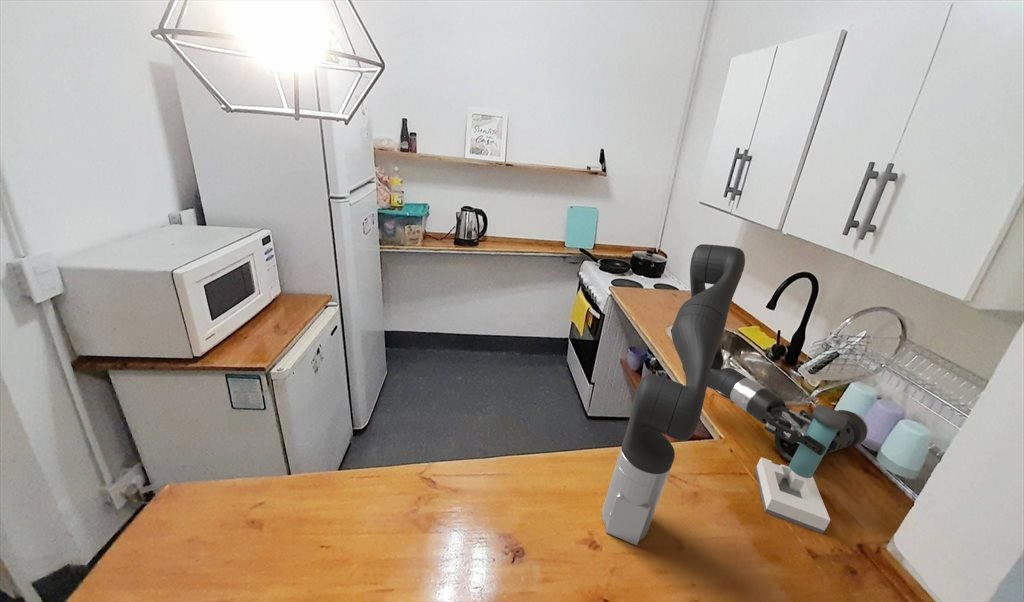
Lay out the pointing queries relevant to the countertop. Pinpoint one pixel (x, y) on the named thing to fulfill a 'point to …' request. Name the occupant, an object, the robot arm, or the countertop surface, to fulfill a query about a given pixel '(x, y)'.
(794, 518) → the keyhole plate
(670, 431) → the robot arm
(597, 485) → the countertop surface
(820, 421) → the peg
